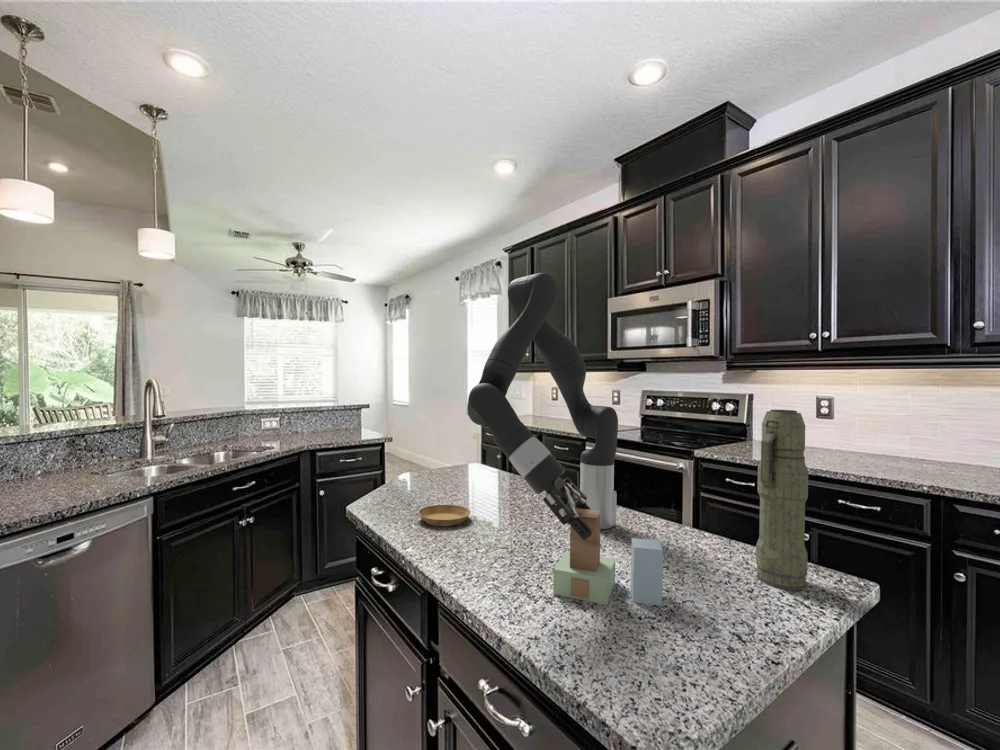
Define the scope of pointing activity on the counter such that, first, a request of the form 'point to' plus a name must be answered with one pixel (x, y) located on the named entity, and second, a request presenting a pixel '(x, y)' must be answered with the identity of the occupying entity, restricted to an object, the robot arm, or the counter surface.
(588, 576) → the base block
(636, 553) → the slate block
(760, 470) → the thermos
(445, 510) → the plant saucer
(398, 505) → the counter surface
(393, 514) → the counter surface
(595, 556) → the walnut block
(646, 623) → the counter surface
